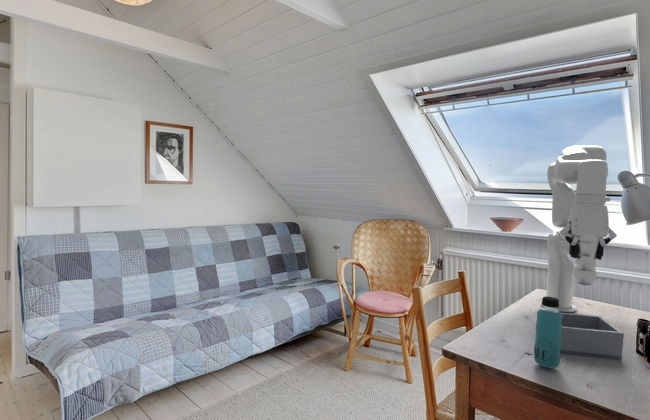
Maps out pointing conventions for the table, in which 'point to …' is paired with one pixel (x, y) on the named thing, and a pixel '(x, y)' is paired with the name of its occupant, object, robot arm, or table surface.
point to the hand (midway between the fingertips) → (585, 257)
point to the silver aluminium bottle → (586, 260)
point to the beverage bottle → (548, 334)
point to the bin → (590, 337)
